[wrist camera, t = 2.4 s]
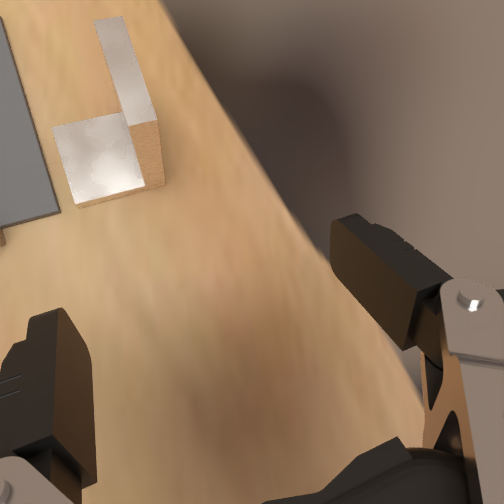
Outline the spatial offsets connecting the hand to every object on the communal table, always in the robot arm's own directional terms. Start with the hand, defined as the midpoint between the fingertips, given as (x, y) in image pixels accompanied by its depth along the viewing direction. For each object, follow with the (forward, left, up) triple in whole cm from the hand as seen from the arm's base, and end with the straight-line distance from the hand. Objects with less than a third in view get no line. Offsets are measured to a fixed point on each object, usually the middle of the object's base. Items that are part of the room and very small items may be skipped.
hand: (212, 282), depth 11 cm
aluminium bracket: (-3, +12, -17) cm, 21 cm away
